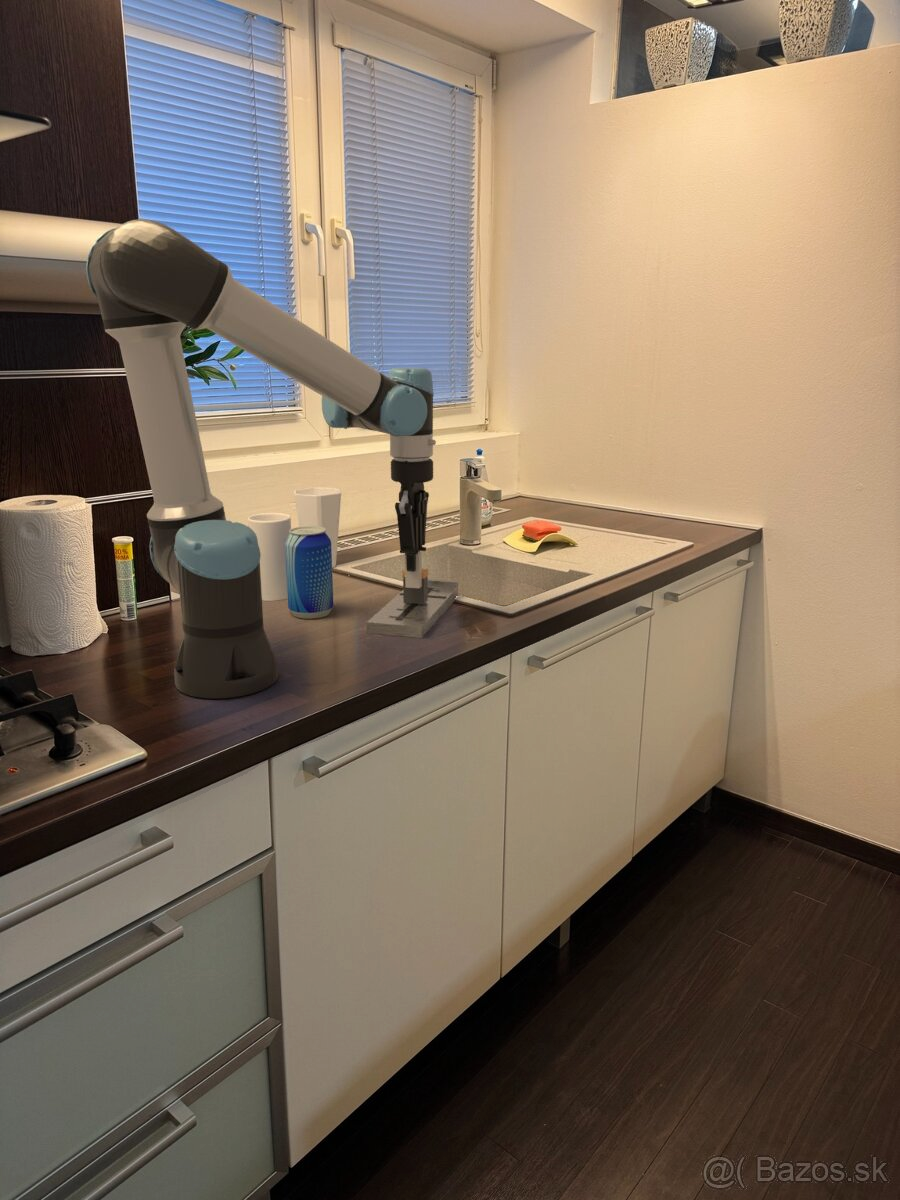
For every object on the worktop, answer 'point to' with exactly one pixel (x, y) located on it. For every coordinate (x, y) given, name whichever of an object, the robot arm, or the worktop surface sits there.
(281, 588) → the cup
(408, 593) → the fader
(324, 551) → the beer can
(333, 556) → the cup
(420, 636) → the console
